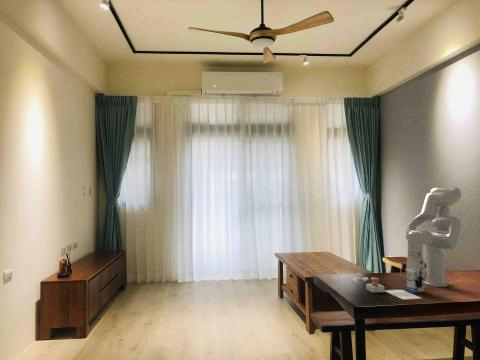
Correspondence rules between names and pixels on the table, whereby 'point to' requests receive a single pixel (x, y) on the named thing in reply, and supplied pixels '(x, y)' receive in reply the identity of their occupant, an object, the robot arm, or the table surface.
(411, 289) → the ink box
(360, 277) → the white ring with cylinder
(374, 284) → the button
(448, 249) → the robot arm
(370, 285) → the button housing
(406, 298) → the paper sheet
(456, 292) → the table surface
